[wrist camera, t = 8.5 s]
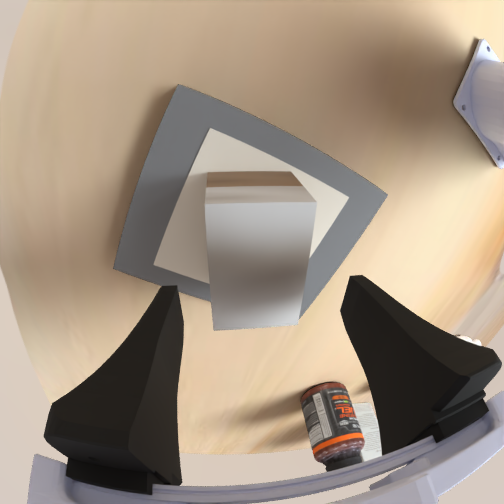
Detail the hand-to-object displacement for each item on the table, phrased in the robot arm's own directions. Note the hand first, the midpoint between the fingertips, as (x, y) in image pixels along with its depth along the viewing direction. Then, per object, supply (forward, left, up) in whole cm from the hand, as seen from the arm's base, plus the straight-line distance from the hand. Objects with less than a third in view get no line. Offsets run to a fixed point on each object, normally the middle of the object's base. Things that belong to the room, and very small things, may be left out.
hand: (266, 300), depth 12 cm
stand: (0, 0, -8) cm, 8 cm away
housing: (0, 0, -6) cm, 6 cm away
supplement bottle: (-19, +17, -8) cm, 27 cm away
